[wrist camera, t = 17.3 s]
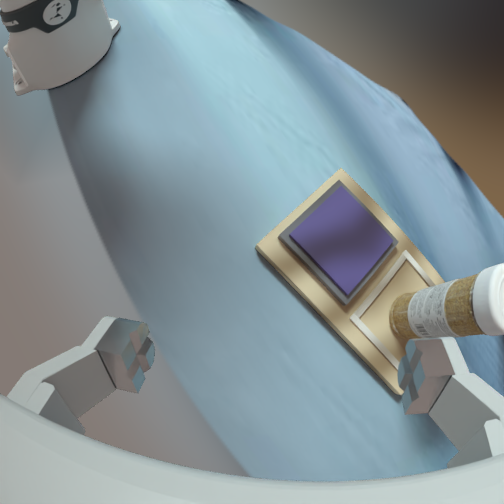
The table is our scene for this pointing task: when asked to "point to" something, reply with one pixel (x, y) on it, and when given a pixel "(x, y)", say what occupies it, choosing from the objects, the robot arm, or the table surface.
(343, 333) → the stamp station
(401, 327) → the sprinkles bottle
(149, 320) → the table surface
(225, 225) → the table surface
